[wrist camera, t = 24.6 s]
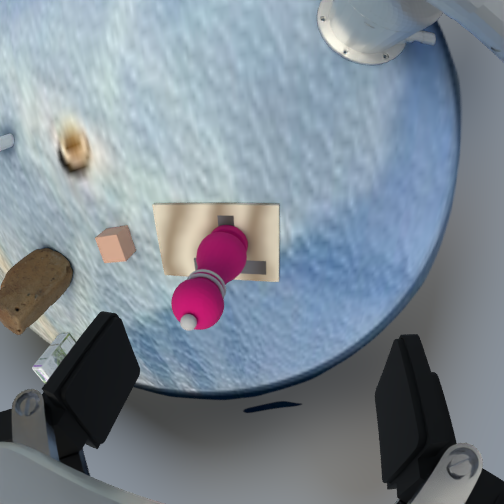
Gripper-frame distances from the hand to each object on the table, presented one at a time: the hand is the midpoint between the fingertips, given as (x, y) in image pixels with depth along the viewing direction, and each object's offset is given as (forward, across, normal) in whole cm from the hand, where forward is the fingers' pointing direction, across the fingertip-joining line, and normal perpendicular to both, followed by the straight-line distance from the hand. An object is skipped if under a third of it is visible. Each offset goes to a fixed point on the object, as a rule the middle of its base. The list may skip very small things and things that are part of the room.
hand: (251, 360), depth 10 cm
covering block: (+36, +30, +14) cm, 49 cm away
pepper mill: (+36, +10, +13) cm, 39 cm away
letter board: (+36, +12, +14) cm, 41 cm away
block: (+36, +50, +20) cm, 65 cm away
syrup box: (+36, +58, +45) cm, 82 cm away
